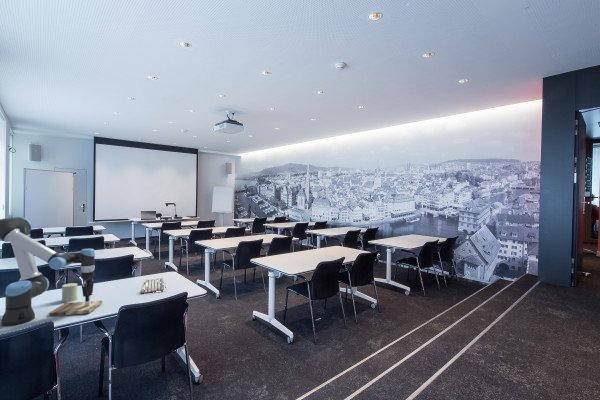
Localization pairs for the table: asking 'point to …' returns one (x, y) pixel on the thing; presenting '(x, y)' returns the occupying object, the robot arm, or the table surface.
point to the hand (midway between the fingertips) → (87, 305)
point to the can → (69, 292)
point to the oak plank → (83, 308)
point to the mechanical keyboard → (153, 286)
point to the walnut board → (62, 309)
